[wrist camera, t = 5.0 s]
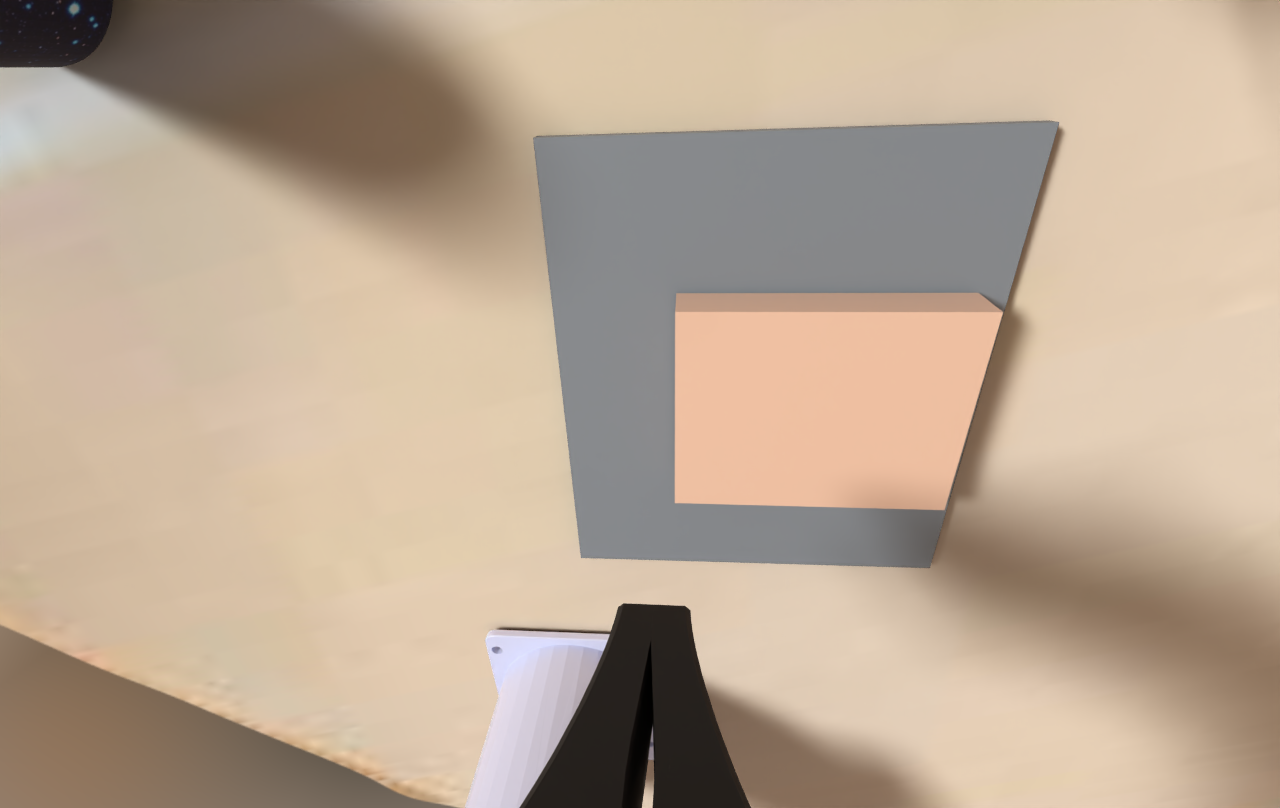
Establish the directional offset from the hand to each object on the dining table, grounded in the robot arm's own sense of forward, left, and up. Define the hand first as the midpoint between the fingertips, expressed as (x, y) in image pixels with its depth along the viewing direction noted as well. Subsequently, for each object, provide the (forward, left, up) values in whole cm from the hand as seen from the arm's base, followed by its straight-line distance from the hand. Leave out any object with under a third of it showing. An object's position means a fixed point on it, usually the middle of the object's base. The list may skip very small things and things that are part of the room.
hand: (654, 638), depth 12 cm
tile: (0, 0, -9) cm, 9 cm away
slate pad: (0, -3, -10) cm, 11 cm away
